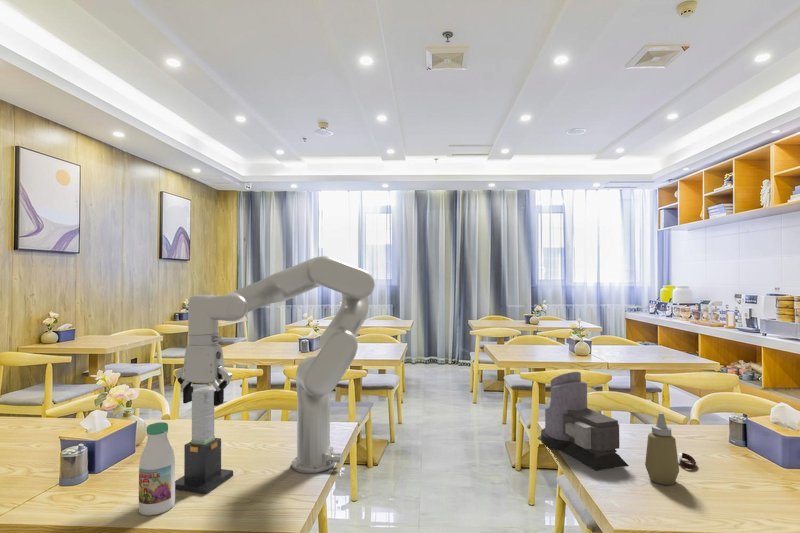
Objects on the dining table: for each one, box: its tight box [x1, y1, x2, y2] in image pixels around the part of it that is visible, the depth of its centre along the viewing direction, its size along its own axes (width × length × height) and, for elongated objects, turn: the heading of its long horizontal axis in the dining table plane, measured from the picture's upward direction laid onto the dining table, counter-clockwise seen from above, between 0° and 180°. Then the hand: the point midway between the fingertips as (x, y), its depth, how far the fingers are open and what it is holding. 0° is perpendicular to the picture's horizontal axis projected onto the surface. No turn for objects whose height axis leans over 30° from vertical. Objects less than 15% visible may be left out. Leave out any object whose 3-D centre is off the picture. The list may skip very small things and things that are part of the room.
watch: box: [677, 452, 697, 470], centre depth 132 cm, size 8×5×4 cm, turn 150°
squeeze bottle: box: [644, 412, 680, 486], centre depth 122 cm, size 8×8×18 cm
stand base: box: [175, 437, 234, 495], centre depth 122 cm, size 11×11×11 cm
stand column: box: [190, 388, 216, 446], centre depth 123 cm, size 4×4×17 cm
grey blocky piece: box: [536, 371, 629, 472], centre depth 144 cm, size 30×16×24 cm, turn 17°
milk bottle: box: [138, 421, 176, 516], centre depth 109 cm, size 8×8×20 cm
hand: (203, 403), depth 123 cm, fingers open, 9 cm apart
